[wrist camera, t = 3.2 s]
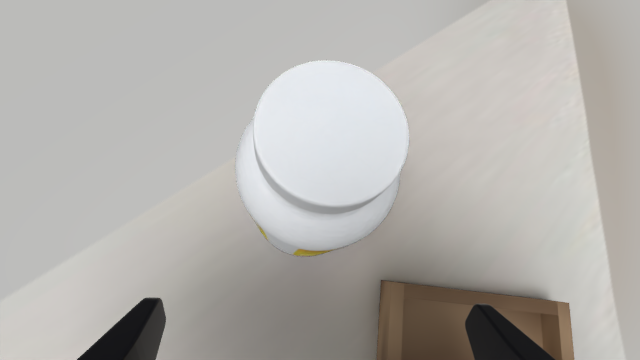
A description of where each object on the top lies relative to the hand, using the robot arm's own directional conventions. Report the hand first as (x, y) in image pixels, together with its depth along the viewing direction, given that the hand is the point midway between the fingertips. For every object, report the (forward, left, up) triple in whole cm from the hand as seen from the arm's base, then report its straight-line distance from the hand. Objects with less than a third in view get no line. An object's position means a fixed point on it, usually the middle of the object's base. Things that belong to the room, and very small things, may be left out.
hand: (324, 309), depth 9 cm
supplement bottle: (+5, 0, -12) cm, 13 cm away
